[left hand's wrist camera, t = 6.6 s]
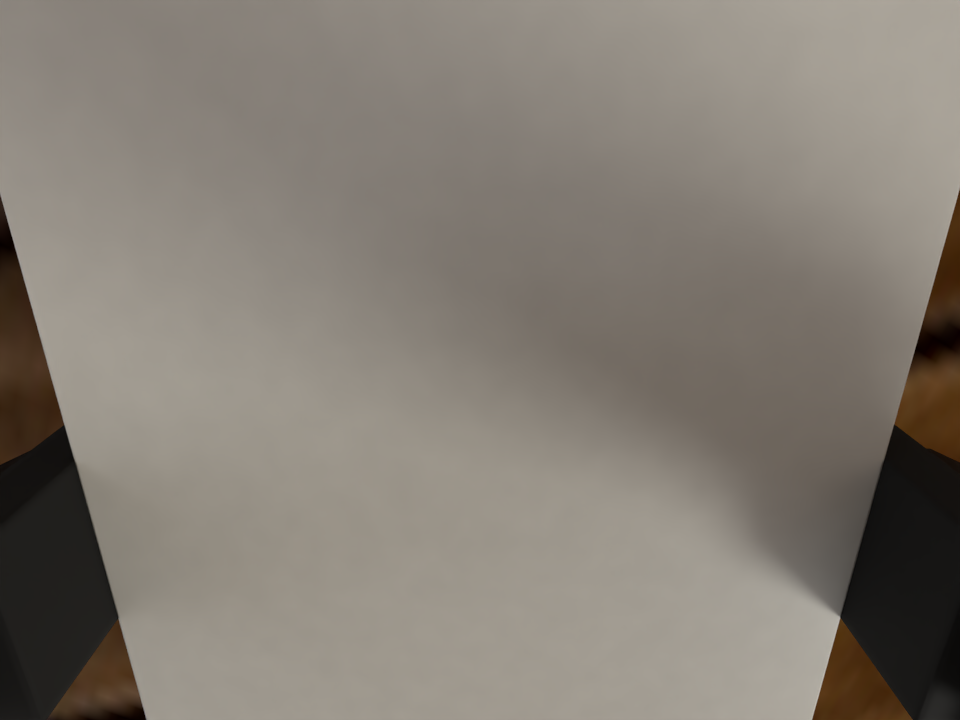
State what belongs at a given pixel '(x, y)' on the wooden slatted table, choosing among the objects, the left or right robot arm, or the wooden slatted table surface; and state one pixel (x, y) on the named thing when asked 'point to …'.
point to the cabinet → (479, 336)
